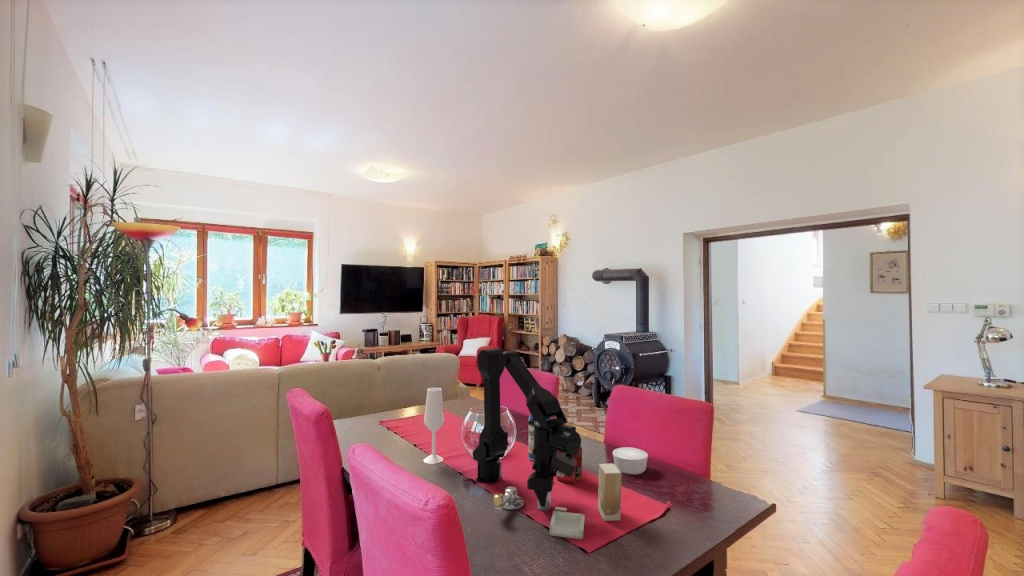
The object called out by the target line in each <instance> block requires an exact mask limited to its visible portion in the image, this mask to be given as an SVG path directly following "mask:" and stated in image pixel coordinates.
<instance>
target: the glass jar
mask: <svg viewBox="0 0 1024 576" xmlns="http://www.w3.org/2000/svg"><path fill="white" fill-rule="evenodd" d="M551 493H552V491H550V492H548V494H547V499H546V504H545V507H542V506H541V505H540V503H539V501H538V499H537V500H536V501H537V502H536V503H537V505H536V506H537V510H539V511H541V512H546V511H547V510H548V511H550V510H551V496H552V495H551ZM549 509H550V510H549Z"/></svg>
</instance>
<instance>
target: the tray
mask: <svg viewBox="0 0 1024 576" xmlns="http://www.w3.org/2000/svg"><path fill="white" fill-rule="evenodd" d="M585 517H586V516H585V514H584V513H578V512H576V513H574V512H568V511H562V510H553V511H552V515H551V520H550V524H549V536H553V537H559V538H568V539H575V540H583V539H584V532H585V531H584V529H585Z"/></svg>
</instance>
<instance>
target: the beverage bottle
mask: <svg viewBox="0 0 1024 576" xmlns="http://www.w3.org/2000/svg"><path fill="white" fill-rule="evenodd" d="M532 418H533V417H532V415H531V413H530V414H529V417H528V422H529V421H530V420H531V419H532ZM551 419H553V417H552V418H548V419H546V421H548V420H551ZM527 430H528V453H527V457H528V459H529V460H530V461H532V460H533V461H532V462H534V454H532V452H533V448H534V426H533V425H530V424H528V426H527Z"/></svg>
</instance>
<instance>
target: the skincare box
mask: <svg viewBox="0 0 1024 576" xmlns="http://www.w3.org/2000/svg"><path fill="white" fill-rule="evenodd" d="M622 474H623V473H622V472H620V471H619V469H618V468H617V467H616V465H615V463H598V489H597V490H598V493H597V494H598V497H597V498H598V499H597V500H598V501H597V509H598V512H599V513H600V515H601V517H602V519H603V521H604V522H607V521H608V522H609V521H611V522H612V521H621V520H622V519H621V518H622V517H621V515H622V514H621V513H622V512H621V511H622V510H621V509H622V477H623V476H622Z"/></svg>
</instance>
